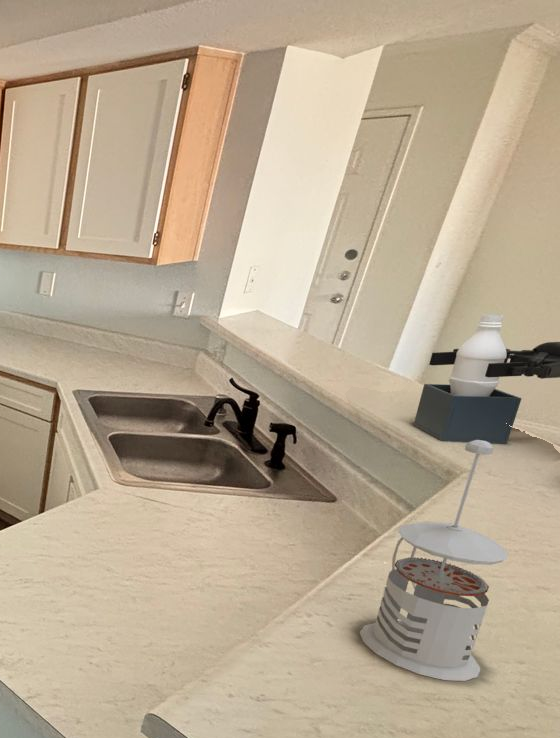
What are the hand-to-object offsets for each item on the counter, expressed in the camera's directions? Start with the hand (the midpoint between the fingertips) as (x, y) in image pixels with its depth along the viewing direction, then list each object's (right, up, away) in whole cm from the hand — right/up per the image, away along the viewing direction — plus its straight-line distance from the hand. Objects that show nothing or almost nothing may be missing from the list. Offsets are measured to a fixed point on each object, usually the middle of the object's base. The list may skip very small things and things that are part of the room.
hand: (459, 364), depth 122 cm
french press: (-65, -38, -56) cm, 94 cm away
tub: (+5, -15, +5) cm, 16 cm away
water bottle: (+5, -14, +5) cm, 16 cm away
